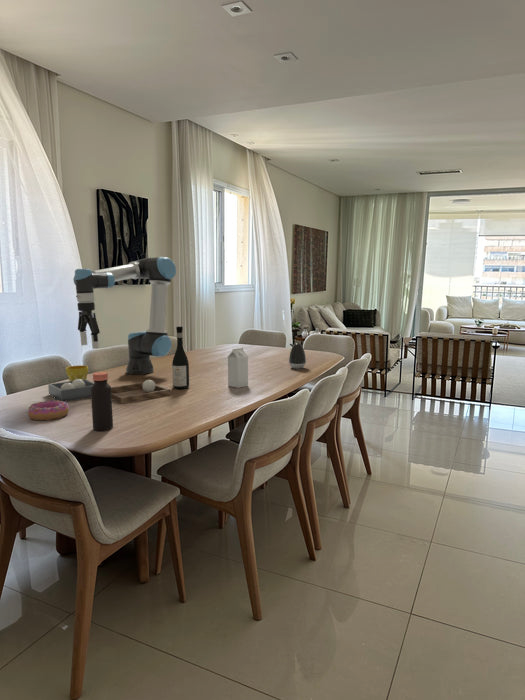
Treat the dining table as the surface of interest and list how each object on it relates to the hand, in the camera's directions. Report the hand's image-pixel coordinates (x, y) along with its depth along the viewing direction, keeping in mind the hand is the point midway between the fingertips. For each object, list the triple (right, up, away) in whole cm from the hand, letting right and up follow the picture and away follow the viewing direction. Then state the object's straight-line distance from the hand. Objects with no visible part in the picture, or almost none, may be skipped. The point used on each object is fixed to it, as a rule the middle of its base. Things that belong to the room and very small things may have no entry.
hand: (89, 346), depth 225 cm
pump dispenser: (+103, -13, +57) cm, 118 cm away
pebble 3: (+29, -21, -3) cm, 36 cm away
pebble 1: (-4, -20, -12) cm, 23 cm away
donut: (-1, -28, -41) cm, 50 cm away
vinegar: (+26, -30, -57) cm, 69 cm away
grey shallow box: (-4, -22, -9) cm, 24 cm away
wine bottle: (+42, -20, +7) cm, 47 cm away
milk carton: (+70, -20, +10) cm, 74 cm away
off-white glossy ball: (-2, -21, -7) cm, 22 cm away
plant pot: (-9, -20, +9) cm, 24 cm away
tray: (+24, -22, -8) cm, 33 cm away
